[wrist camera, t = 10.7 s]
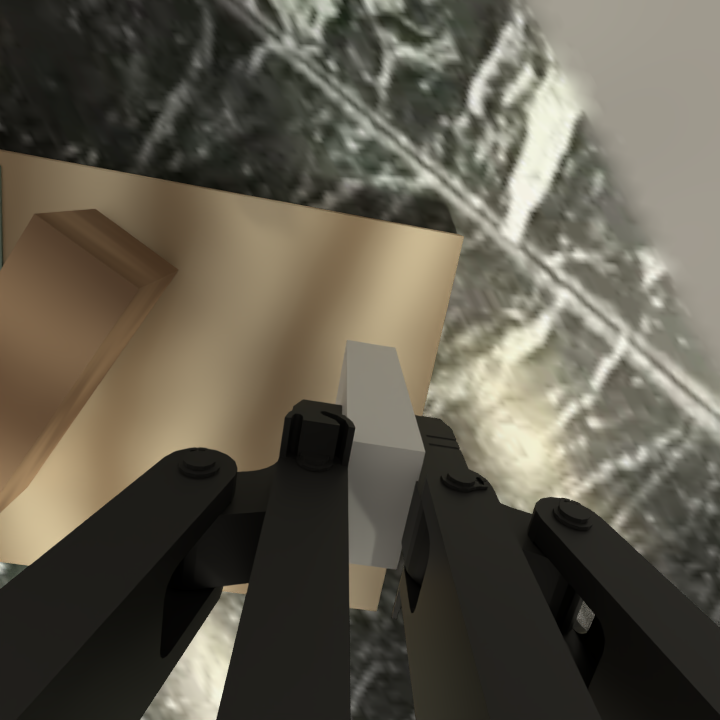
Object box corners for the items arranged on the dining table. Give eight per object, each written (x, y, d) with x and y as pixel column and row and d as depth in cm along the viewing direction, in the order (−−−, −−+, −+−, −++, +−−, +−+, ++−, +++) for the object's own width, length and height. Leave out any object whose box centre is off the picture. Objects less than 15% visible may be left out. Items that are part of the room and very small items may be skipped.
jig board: (457, 233, 22) (493, 248, 16) (375, 593, 27) (381, 693, 22) (-167, 118, 20) (-357, 93, 15) (-123, 526, 25) (-250, 616, 20)
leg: (27, 487, 23) (-37, 546, 19) (-51, 441, 22) (-134, 493, 19) (178, 270, 20) (139, 288, 17) (95, 208, 20) (34, 213, 16)
